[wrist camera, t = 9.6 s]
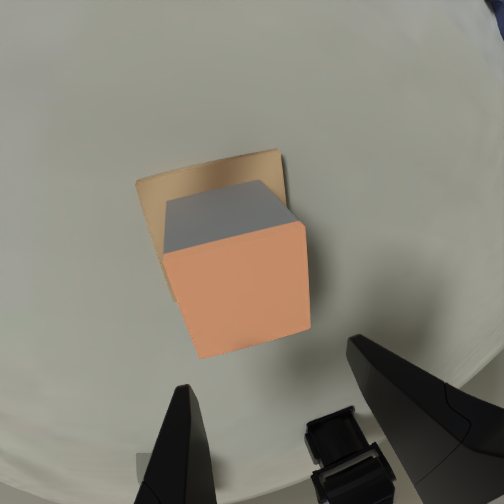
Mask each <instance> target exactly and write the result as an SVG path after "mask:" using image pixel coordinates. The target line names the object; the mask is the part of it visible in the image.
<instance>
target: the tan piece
mask: <svg viewBox="0 0 504 504" xmlns="http://www.w3.org/2000/svg"><path fill="white" fill-rule="evenodd" d="M258 179H259V180H260V181H261V182H262V183H263V184H264V185H265V186H266V187H267V188H268V189H269V190H270V191H271V192H272V193H273V194H274V195H275V196H276V197H277V198H278V199H279V200H280V201H281V202H282V203H283V204H284V205H285V206H286V207H287V205H286V196H285V187H284V178H283V170H282V161H281V153H280V151H279V150H277V149H273V150H267V151H262V152H256V153H251V154H246V155H240V156H235V157H231V158H226V159H221V160H216V161H212V162H207V163H203V164H199V165H194V166H190V167H186V168H182V169H178V170H174V171H170V172H166V173H162V174H158V175H155V176H151V177H147V178H144V179H140V180H137V181H136V184H135V185H136V189H137V192H138V196H139V199H140V203H141V206H142V209H143V213H144V216H145V219H146V222H147V226H148V229H149V232H150V235H151V238H152V241H153V244H154V247H155V250H156V253H157V256H158V259H159V262H160V265H161V268H162V271H163V274H164V276H165V279H166V282H167V285H168V287H169V290H170V293H171V296H172V298H173V301H174V302H177V300H176V297H175V295H174V292H173V289H172V286H171V284H170V281H169V278H168V275H167V272H166V270H165V267H164V264H163V250H164V230H165V214H166V201H169V200H173V199H176V198H180V197H184V196H188V195H192V194H196V193H201V192H205V191H209V190H213V189H217V188H222V187H226V186H231V185H235V184H240V183H244V182H249V181H254V180H258Z"/></svg>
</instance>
